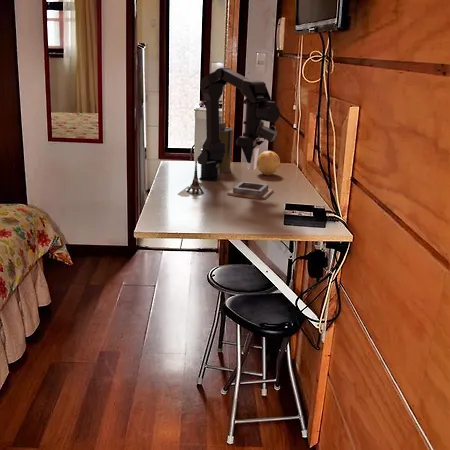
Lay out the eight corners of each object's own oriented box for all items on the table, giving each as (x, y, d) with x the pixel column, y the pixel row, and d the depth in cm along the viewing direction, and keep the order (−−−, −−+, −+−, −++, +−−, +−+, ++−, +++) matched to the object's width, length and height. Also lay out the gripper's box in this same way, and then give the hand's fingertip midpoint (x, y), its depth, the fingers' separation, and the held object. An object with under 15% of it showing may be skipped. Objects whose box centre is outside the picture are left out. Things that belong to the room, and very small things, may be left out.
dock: (227, 194, 204) (227, 187, 203) (237, 187, 214) (237, 180, 214) (264, 199, 199) (265, 192, 199) (273, 191, 210) (273, 184, 209)
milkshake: (242, 167, 205) (244, 139, 202) (257, 167, 206) (258, 140, 202) (243, 170, 201) (245, 142, 198) (258, 170, 201) (260, 142, 198)
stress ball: (261, 173, 241) (247, 160, 235) (276, 156, 240) (263, 142, 234) (272, 182, 233) (259, 169, 227) (288, 164, 233) (275, 151, 226)
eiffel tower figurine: (187, 187, 213) (188, 152, 209) (213, 190, 211) (214, 155, 206) (173, 197, 199) (174, 160, 195) (201, 200, 197) (202, 163, 193)
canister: (201, 169, 239) (202, 122, 233) (215, 165, 248) (216, 120, 241) (223, 173, 234) (225, 125, 227) (236, 169, 242) (238, 122, 236)
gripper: (268, 124, 187) (265, 170, 192) (282, 117, 203) (279, 159, 209) (236, 120, 190) (234, 166, 195) (253, 114, 207) (250, 156, 212)
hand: (250, 161), depth 203 cm, fingers closed on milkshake, 4 cm apart
